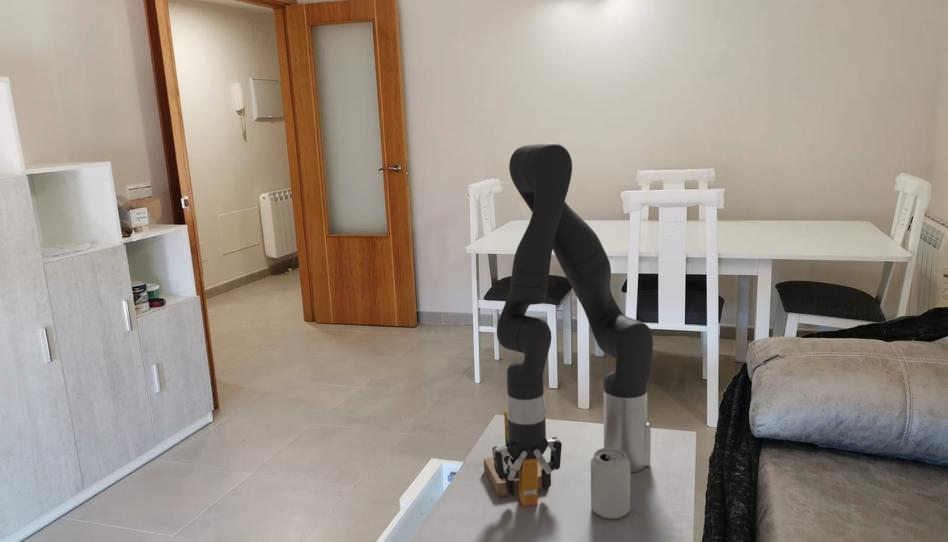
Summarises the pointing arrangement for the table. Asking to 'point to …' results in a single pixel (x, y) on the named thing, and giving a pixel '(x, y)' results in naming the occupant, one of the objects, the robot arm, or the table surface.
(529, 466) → the supplement box
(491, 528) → the table surface
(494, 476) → the socket base
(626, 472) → the can
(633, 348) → the robot arm
